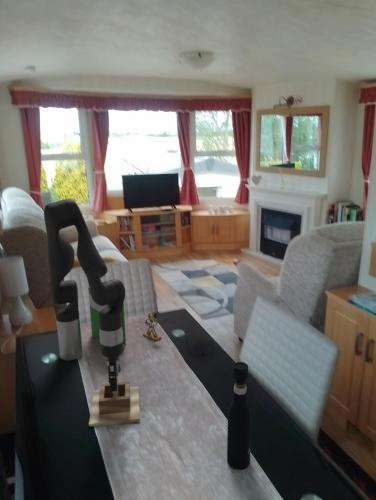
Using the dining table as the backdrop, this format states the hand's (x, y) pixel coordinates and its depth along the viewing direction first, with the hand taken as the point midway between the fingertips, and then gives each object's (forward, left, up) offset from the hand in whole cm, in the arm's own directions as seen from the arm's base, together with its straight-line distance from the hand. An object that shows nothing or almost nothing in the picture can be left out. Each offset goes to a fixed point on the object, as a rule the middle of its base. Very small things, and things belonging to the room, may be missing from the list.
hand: (114, 383), depth 133 cm
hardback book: (-50, -5, -9) cm, 51 cm away
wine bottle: (+30, +35, -9) cm, 47 cm away
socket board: (0, 0, -9) cm, 9 cm away
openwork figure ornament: (-49, +15, -9) cm, 52 cm away
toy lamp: (0, 0, -8) cm, 8 cm away
